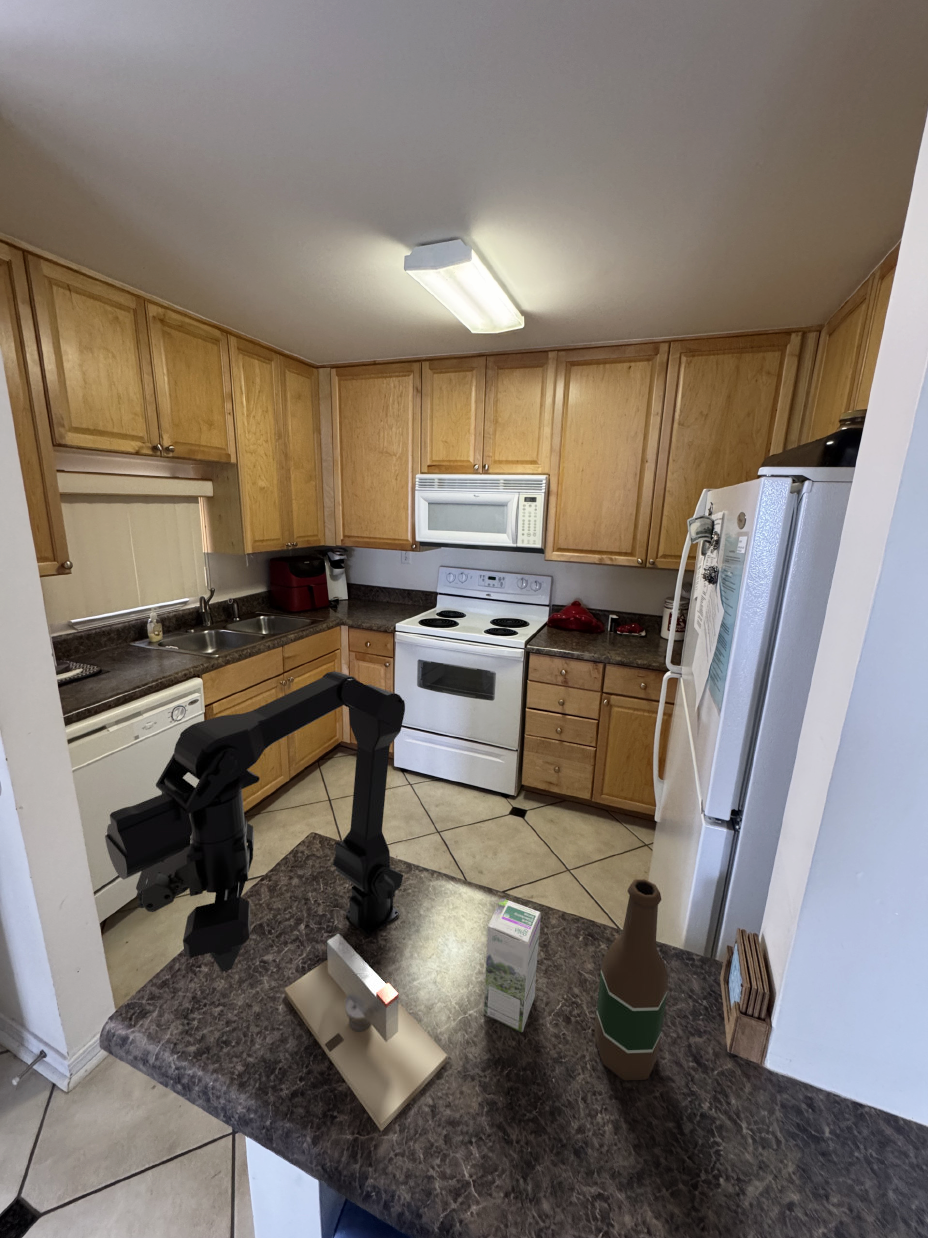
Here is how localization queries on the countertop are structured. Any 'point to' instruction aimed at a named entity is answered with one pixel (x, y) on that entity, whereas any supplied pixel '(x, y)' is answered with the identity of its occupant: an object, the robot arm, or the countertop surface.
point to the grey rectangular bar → (363, 989)
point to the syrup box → (511, 963)
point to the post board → (367, 1047)
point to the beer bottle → (633, 990)
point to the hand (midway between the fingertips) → (229, 938)
